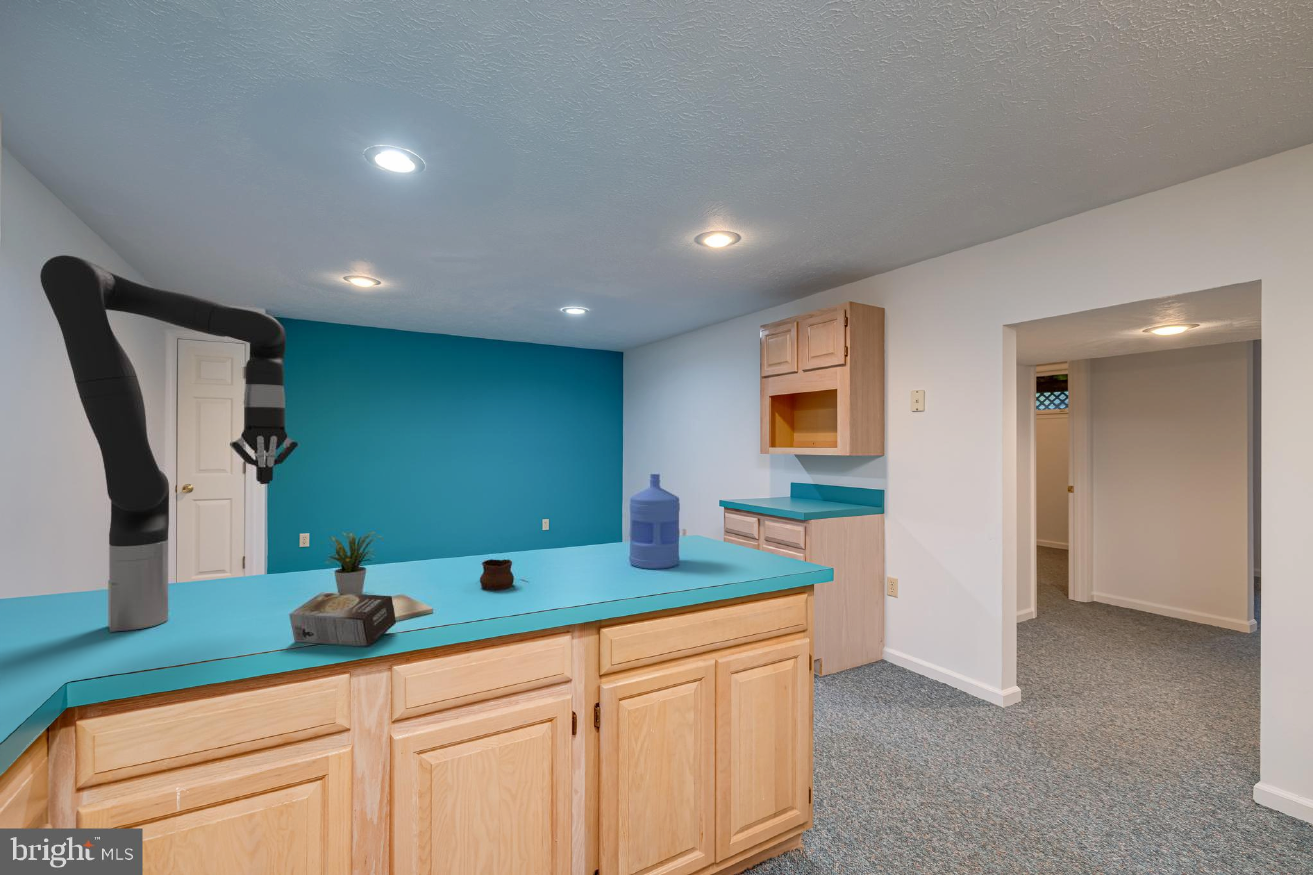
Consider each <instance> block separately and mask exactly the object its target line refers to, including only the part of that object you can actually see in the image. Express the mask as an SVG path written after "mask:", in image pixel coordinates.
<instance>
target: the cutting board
mask: <svg viewBox="0 0 1313 875" xmlns="http://www.w3.org/2000/svg"><path fill="white" fill-rule="evenodd" d="M391 596H392V602H393V606H394V612H395V619H396V622H399V621H402V620H403V621H404V620H408V619H411V618H417V617H421V616H425V615H429V614H433V613H434V607H431V606H429V605H428V604H425V603H423V602H420V601H418V600H417V599H414V598H412V597H410V596H408V595H405V594H403V593H401V594H398V595H391Z"/></svg>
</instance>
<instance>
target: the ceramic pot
mask: <svg viewBox="0 0 1313 875" xmlns="http://www.w3.org/2000/svg"><path fill="white" fill-rule="evenodd" d="M481 565H482V569H483V572H482V573H481V575H480V577H479V583H480V586H481V589H482V590H485V591H488V592H489V591H491V592H498V591H506V590H509V589H511V588H512V587H513V585H514V580H515V576H514V573H513V572H512V569H511V568H512V565H513V561H512V560H510V559H504V558H503V559H493V558H492V559H486V560H483V561H482V562H481ZM519 580H520V581H522V582H526V583H528V584H529V583H530V582H529V581H528V580H525V579H523V578H519Z"/></svg>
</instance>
